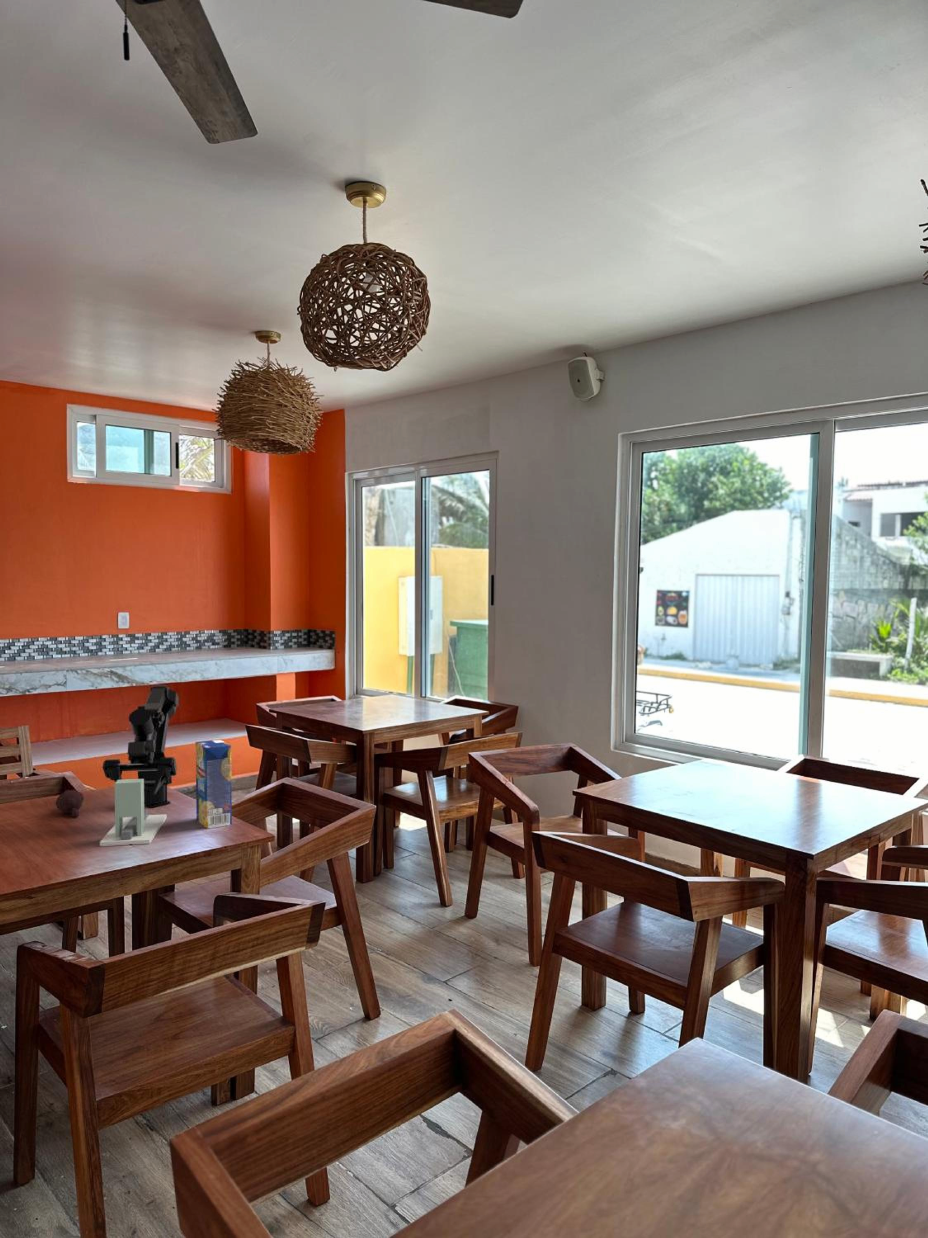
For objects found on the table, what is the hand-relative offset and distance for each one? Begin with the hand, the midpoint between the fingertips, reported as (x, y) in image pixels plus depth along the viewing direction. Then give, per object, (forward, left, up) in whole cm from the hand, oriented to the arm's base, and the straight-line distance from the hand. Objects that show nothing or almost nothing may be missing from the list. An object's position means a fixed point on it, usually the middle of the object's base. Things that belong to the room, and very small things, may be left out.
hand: (136, 794), depth 223 cm
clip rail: (+1, +1, -9) cm, 10 cm away
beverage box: (-16, +12, -10) cm, 22 cm away
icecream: (+1, -31, -10) cm, 32 cm away
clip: (+6, +6, -8) cm, 12 cm away
